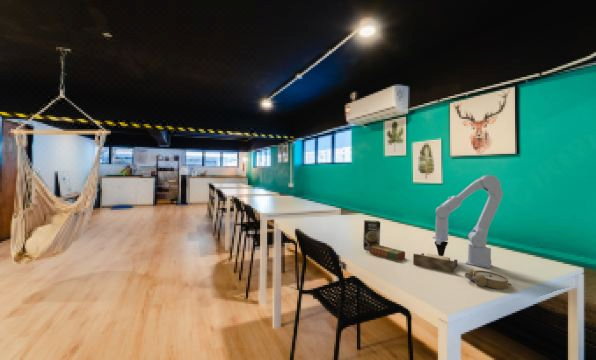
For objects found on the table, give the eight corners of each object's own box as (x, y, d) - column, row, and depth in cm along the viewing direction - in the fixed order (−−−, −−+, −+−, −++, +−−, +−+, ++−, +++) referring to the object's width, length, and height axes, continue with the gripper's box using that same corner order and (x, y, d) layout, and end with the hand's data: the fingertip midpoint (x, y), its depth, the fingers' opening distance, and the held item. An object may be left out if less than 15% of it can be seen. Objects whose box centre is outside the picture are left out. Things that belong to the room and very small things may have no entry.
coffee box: (363, 249, 154) (364, 221, 154) (362, 246, 161) (363, 219, 160) (380, 250, 153) (380, 222, 152) (378, 247, 159) (379, 220, 159)
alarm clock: (516, 283, 101) (475, 274, 102) (513, 295, 101) (472, 286, 102) (497, 272, 112) (460, 264, 113) (494, 283, 112) (458, 275, 114)
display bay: (458, 265, 129) (458, 254, 128) (453, 272, 118) (453, 261, 118) (421, 257, 139) (421, 248, 139) (413, 264, 129) (413, 253, 129)
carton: (378, 251, 151) (378, 244, 150) (405, 259, 138) (405, 250, 138) (369, 254, 145) (370, 246, 145) (397, 262, 133) (397, 253, 133)
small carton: (449, 265, 128) (450, 257, 128) (446, 270, 122) (446, 261, 122) (427, 261, 135) (427, 253, 135) (423, 265, 129) (423, 257, 129)
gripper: (436, 226, 145) (435, 251, 145) (429, 230, 134) (429, 257, 134) (451, 228, 141) (450, 253, 141) (445, 232, 130) (444, 260, 130)
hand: (441, 255), depth 137 cm, fingers closed
